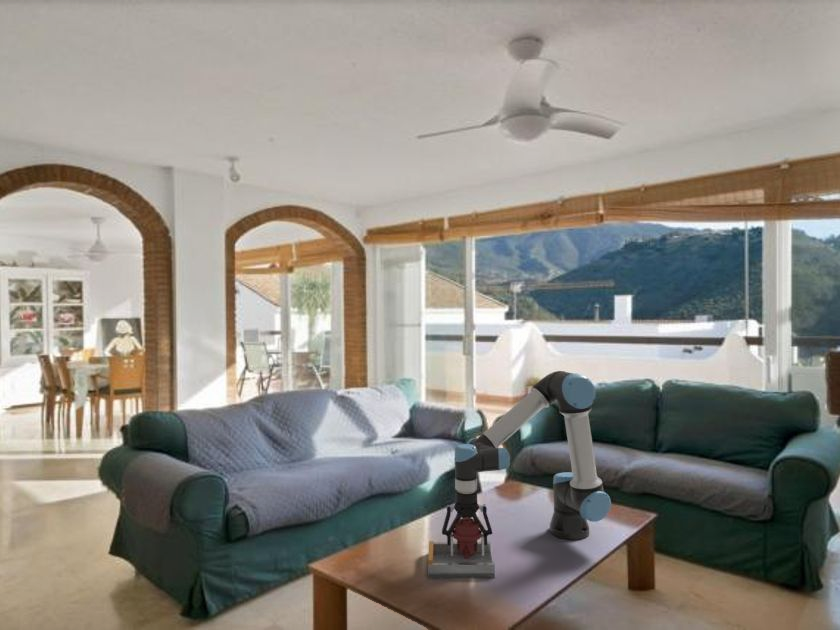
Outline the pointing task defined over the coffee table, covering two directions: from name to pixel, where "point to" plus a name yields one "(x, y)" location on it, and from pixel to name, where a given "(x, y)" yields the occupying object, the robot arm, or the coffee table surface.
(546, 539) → the coffee table surface
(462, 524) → the mechanical component
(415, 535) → the coffee table surface
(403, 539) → the coffee table surface
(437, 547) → the grey piece
